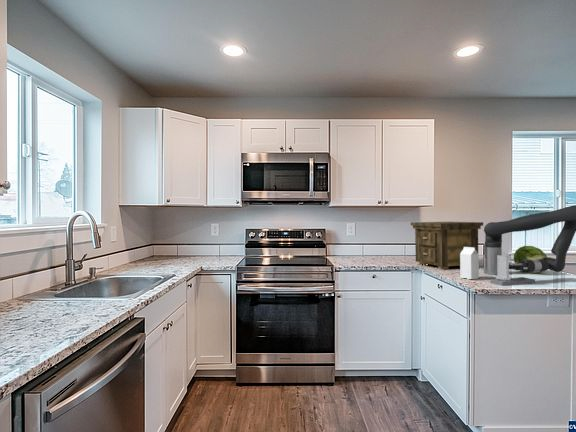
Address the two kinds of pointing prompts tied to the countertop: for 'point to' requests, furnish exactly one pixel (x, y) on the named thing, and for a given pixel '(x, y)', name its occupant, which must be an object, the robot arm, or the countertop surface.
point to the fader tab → (503, 267)
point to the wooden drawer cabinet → (444, 241)
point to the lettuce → (528, 254)
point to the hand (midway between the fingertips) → (504, 267)
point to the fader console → (513, 281)
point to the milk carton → (469, 263)
